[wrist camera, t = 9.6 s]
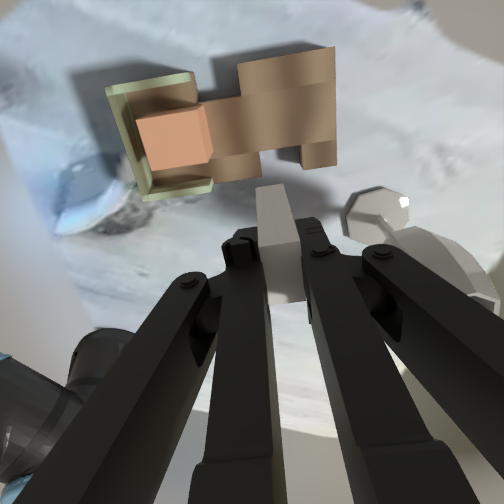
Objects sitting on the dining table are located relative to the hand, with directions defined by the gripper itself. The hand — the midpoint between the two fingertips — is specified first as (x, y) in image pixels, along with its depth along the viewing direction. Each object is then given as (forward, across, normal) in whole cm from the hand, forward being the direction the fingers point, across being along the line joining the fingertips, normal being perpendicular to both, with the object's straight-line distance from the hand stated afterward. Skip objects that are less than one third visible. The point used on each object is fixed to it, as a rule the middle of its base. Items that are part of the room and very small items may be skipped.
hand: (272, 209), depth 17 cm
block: (+21, -9, +2) cm, 23 cm away
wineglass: (+24, +14, -14) cm, 31 cm away
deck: (+24, -3, +2) cm, 24 cm away
